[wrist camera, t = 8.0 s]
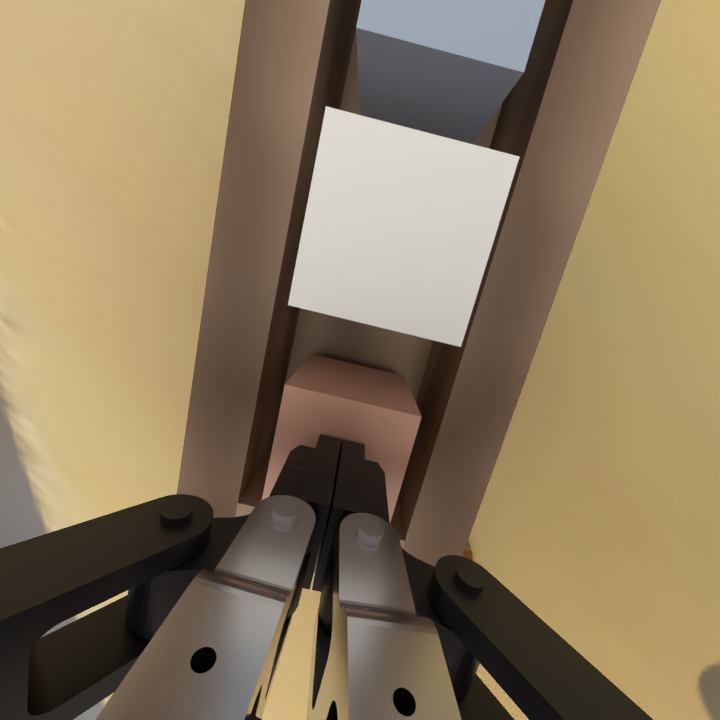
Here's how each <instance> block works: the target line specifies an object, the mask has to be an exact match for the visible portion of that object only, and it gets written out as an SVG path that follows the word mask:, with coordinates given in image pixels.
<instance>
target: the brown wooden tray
mask: <svg viewBox="0 0 720 720" xmlns="http://www.w3.org/2000/svg"><path fill="white" fill-rule="evenodd" d="M361 1H362V0H245V7H244V14H243V21H242V29H241V36H240V43H239V50H238V58H237V65H236V72H235V79H234V86H233V94H232V101H231V108H230V115H229V122H228V130H227V137H226V144H225V151H224V159H223V166H222V173H221V180H220V187H219V195H218V202H217V209H216V216H215V223H214V231H213V238H212V245H211V252H210V259H209V267H208V274H207V281H206V288H205V296H204V303H203V310H202V317H201V324H200V332H199V339H198V346H197V353H196V360H195V368H194V375H193V382H192V389H191V396H190V404H189V411H188V418H187V425H186V433H185V440H184V447H183V454H182V461H181V469H180V476H179V483H178V490H177V494H187V495H193V496H197V497H200V498H202V499H204V500H206V501H207V502H208V503H209V504H210V505H211V507H212V509H213V514H214V515H213V518H220V517H239V516H244V515H248V514H251V512H252V511H253V509H254V508H255V506H256V505H257V504H258V503H259V502H260V501H261V500H262V496H263V491H264V486H265V481H266V476H267V471H268V466H269V461H270V456H271V451H272V446H273V441H274V436H275V431H276V426H277V421H278V416H279V411H280V406H281V401H282V396H283V391H284V386H285V384H286V383H287V381H288V380H289V379H290V378H291V377H292V376H293V374H294V373H295V372H296V371H297V370H298V368H299V367H300V366H301V365H302V364H303V363H304V361H305V360H306V359H307V358H308V357H309V356H310V354H315V355H319V356H323V357H327V358H331V359H336V360H340V361H344V362H348V363H352V364H357V365H361V366H365V367H369V368H373V369H377V370H382V371H386V372H390V373H394V374H398V375H403V376H405V378H406V380H407V382H408V385H409V387H410V390H411V392H412V394H413V397H414V399H415V402H416V404H417V407H418V409H419V411H420V414H421V416H422V418H421V421H420V424H419V428H418V431H417V435H416V438H415V441H414V445H413V448H412V451H411V455H410V458H409V461H408V465H407V468H406V472H405V475H404V478H403V482H402V485H401V488H400V492H399V495H398V499H397V502H396V505H395V509H394V512H393V515H392V519H391V522H390V525H391V526H392V527H393V528H394V529H395V530H396V532H397V534H398V536H399V539H400V543H401V547H402V548H403V549H404V550H405V551H406V552H408V553H409V554H410V555H412V556H414V557H416V558H417V559H419V560H422V561H424V562H426V563H428V564H430V565H432V566H434V567H435V566H436V563H437V561H438V560H439V559H440V558H441V557H443V556H446V555H458V556H462V555H463V552H464V549H465V546H466V544H467V541H468V538H469V535H470V532H471V530H472V527H473V524H474V521H475V518H476V516H477V513H478V510H479V507H480V504H481V502H482V499H483V496H484V493H485V490H486V488H487V485H488V482H489V479H490V477H491V474H492V471H493V468H494V465H495V463H496V460H497V457H498V454H499V451H500V449H501V446H502V443H503V440H504V437H505V435H506V432H507V429H508V426H509V423H510V421H511V418H512V415H513V412H514V409H515V407H516V404H517V401H518V398H519V395H520V393H521V390H522V387H523V384H524V381H525V379H526V376H527V373H528V370H529V367H530V365H531V362H532V359H533V356H534V354H535V351H536V348H537V345H538V342H539V340H540V337H541V334H542V331H543V328H544V326H545V323H546V320H547V317H548V314H549V312H550V309H551V306H552V303H553V300H554V298H555V295H556V292H557V289H558V286H559V284H560V281H561V278H562V275H563V272H564V270H565V267H566V264H567V261H568V258H569V256H570V253H571V250H572V247H573V245H574V242H575V239H576V236H577V233H578V231H579V228H580V225H581V222H582V219H583V217H584V214H585V211H586V208H587V205H588V203H589V200H590V197H591V194H592V191H593V189H594V186H595V183H596V180H597V177H598V175H599V172H600V169H601V166H602V163H603V161H604V158H605V155H606V152H607V149H608V147H609V144H610V141H611V138H612V135H613V133H614V130H615V127H616V124H617V122H618V119H619V116H620V113H621V110H622V108H623V105H624V102H625V99H626V96H627V94H628V91H629V88H630V85H631V82H632V80H633V77H634V74H635V71H636V68H637V66H638V63H639V60H640V57H641V54H642V52H643V49H644V46H645V43H646V40H647V38H648V35H649V32H650V29H651V26H652V24H653V21H654V18H655V15H656V12H657V10H658V7H659V4H660V1H661V0H545V3H544V7H543V10H542V14H541V17H540V20H539V24H538V27H537V30H536V34H535V37H534V40H533V44H532V47H531V51H530V54H529V57H528V61H527V64H526V67H525V71H524V73H523V75H522V76H521V77H520V79H519V80H518V81H517V83H516V84H515V86H514V87H513V88H512V90H511V91H510V92H509V94H508V95H507V97H506V98H505V99H504V101H503V102H502V103H501V105H500V106H499V108H498V109H497V110H496V112H495V113H494V114H493V116H492V117H491V119H490V120H489V121H488V123H487V124H486V125H485V127H484V128H483V130H482V131H481V132H480V134H479V135H478V136H477V138H476V139H475V141H474V142H473V143H472V144H473V145H477V146H481V147H485V148H488V149H492V150H496V151H500V152H504V153H508V154H512V155H515V156H519V161H518V164H517V167H516V170H515V174H514V177H513V180H512V183H511V187H510V190H509V193H508V196H507V200H506V203H505V206H504V209H503V213H502V216H501V219H500V222H499V226H498V229H497V232H496V235H495V238H494V242H493V245H492V248H491V251H490V255H489V258H488V261H487V264H486V268H485V271H484V274H483V277H482V281H481V284H480V287H479V290H478V294H477V297H476V300H475V303H474V306H473V310H472V313H471V316H470V319H469V323H468V326H467V329H466V332H465V336H464V339H463V342H462V345H461V347H459V346H455V345H450V344H446V343H442V342H438V341H434V340H430V339H426V338H422V337H417V336H413V335H409V334H405V333H401V332H397V331H393V330H389V329H384V328H380V327H376V326H372V325H368V324H364V323H360V322H356V321H351V320H347V319H343V318H339V317H335V316H331V315H327V314H323V313H318V312H314V311H310V310H306V309H302V308H298V307H294V306H290V305H288V301H289V296H290V291H291V286H292V280H293V275H294V270H295V265H296V259H297V254H298V249H299V244H300V239H301V233H302V228H303V223H304V218H305V213H306V207H307V202H308V197H309V192H310V187H311V181H312V176H313V171H314V166H315V160H316V155H317V150H318V145H319V140H320V134H321V129H322V124H323V119H324V114H325V108H326V106H327V107H331V108H334V109H338V110H342V111H346V112H350V113H354V114H358V115H360V101H359V79H358V57H357V35H356V26H357V21H358V16H359V11H360V6H361ZM318 555H319V553H318ZM317 560H318V557H317ZM316 566H317V561H316V565H315V569H314V573H315V571H316Z"/></svg>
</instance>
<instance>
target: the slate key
mask: <svg viewBox="0 0 720 720" xmlns="http://www.w3.org/2000/svg"><path fill="white" fill-rule="evenodd" d="M544 3H545V0H362V1H361V6H360V11H359V16H358V21H357V26H356V35H357V57H358V79H359V101H360V115H361V116H365V117H369V118H373V119H377V120H381V121H385V122H388V123H392V124H396V125H400V126H404V127H408V128H411V129H415V130H419V131H423V132H427V133H431V134H435V135H438V136H442V137H446V138H450V139H454V140H458V141H462V142H465V143H469V144H472V143H473V142H474V141H475V139H476V138H477V136H478V135H479V134H480V132H481V131H482V130H483V128H484V127H485V125H486V124H487V123H488V121H489V120H490V119H491V117H492V116H493V114H494V113H495V112H496V110H497V109H498V108H499V106H500V105H501V103H502V102H503V101H504V99H505V98H506V97H507V95H508V94H509V92H510V91H511V90H512V88H513V87H514V86H515V84H516V83H517V81H518V80H519V79H520V77H521V76H522V75H523V73H524V71H525V67H526V64H527V61H528V57H529V54H530V51H531V47H532V44H533V40H534V37H535V34H536V30H537V27H538V24H539V20H540V17H541V14H542V10H543V7H544Z"/></svg>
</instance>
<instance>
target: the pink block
mask: <svg viewBox="0 0 720 720" xmlns="http://www.w3.org/2000/svg"><path fill="white" fill-rule="evenodd" d="M421 418H422V416H421V414H420V411H419V409H418V407H417V404H416V402H415V399H414V397H413V394H412V392H411V390H410V387H409V385H408V382H407V380H406V378H405V376H403V375H398V374H394V373H390V372H386V371H382V370H377V369H373V368H369V367H365V366H361V365H357V364H352V363H348V362H344V361H340V360H336V359H331V358H327V357H323V356H319V355H315V354H310V356H309V357H308V358H307V359H306V360H305V361H304V363H303V364H302V365H301V366H300V367H299V368H298V370H297V371H296V372H295V373H294V374H293V376H292V377H291V378H290V379H289V380H288V381H287V383H286V384H285V386H284V391H283V396H282V401H281V406H280V411H279V416H278V421H277V426H276V431H275V436H274V441H273V446H272V451H271V456H270V461H269V466H268V471H267V476H266V481H265V486H264V491H263V496H262V500H263V499H265V498H268V497H269V496H270V493H271V491H272V489H273V487H274V485H275V483H276V481H277V478H278V476H279V474H280V472H281V470H282V468H283V466H284V464H285V462H286V459H287V457H288V455H289V453H290V451H291V450H293V449H294V448H296V447H298V446H299V445H304V446H308V447H313V448H316V445H317V442H318V439H319V436H320V434H324V435H328V436H332V437H337V438H341V445H342V441H343V439H346V440H350V441H354V442H359V443H363V444H365V460H369V461H374V462H378V464H379V465H380V466H381V468H382V469H383V471H384V472H385V480H386V484H385V485H386V491H387V492H386V494H387V501H388V512H389V522H391V519H392V515H393V512H394V509H395V505H396V502H397V499H398V495H399V492H400V488H401V485H402V482H403V478H404V475H405V472H406V468H407V465H408V461H409V458H410V455H411V451H412V448H413V445H414V441H415V438H416V435H417V431H418V428H419V424H420V421H421ZM341 445H340V449H341ZM339 453H340V451H339Z"/></svg>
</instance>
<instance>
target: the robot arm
mask: <svg viewBox="0 0 720 720" xmlns="http://www.w3.org/2000/svg"><path fill="white" fill-rule="evenodd" d="M340 445H341V438H337V437H332V436H328V435H324V434H320V436H319V439H318V442H317V445H316V448H313V447H308V446H304V445H299V446H298V447H296V448H294V449H293V450H291V451H290V453H289V455H288V457H287V459H286V462H285V464H284V466H283V468H282V470H281V472H280V474H279V476H278V478H277V481H276V483H275V485H274V487H273V489H272V491H271V493H270V496H269V497H268V498H265V499H263V500H261V501H260V502H259V503H258V504H257V505H256V506H255V508H254V509H253V511H252V512H251V514H248V515H244V516H239V517H220V518H213V515H214V514H213V509H212V507H211V505H210V504H209V503H208V502H207V501H206V500H204V499H202V498H200V497H197V496H193V495H187V494H177V495H169V496H165V497H161V498H158V499H155V500H152V501H149V502H146V503H142V504H139V505H136V506H133V507H130V508H127V509H123V510H120V511H117V512H114V513H111V514H108V515H105V516H101V517H98V518H95V519H92V520H89V521H86V522H83V523H79V524H76V525H73V526H70V527H67V528H64V529H60V530H57V531H54V532H51V533H48V534H45V535H42V536H38V537H35V538H32V539H29V540H26V541H23V542H20V543H16V544H14V545H10V546H7V547H4V548H1V549H0V720H73V719H74V718H76V717H77V716H79V715H80V714H82V713H83V712H85V711H86V710H88V709H89V708H91V707H92V706H94V705H95V704H97V703H98V702H100V701H101V700H103V699H104V698H106V697H107V696H109V695H110V694H112V693H113V692H114V694H113V695H112V697H111V698H110V699H109V701H108V702H107V704H106V705H105V707H104V708H103V709H102V711H101V713H100V714H99V716H98V717H97V718H96V720H262V719H261V718H262V715H263V711H264V708H265V705H266V702H267V698H268V695H269V692H270V689H271V685H272V682H273V679H274V676H275V672H276V669H277V666H278V663H279V659H280V656H281V653H282V650H283V646H284V643H285V640H286V637H287V633H288V630H289V627H290V624H291V620H292V616H293V613H294V611H295V610H296V608H297V606H298V603H299V600H300V596H301V591H302V588H306V589H310V585H311V581H312V577H313V573H314V569H315V565H316V561H317V566H316V571H315V577H314V582H313V588H312V590H316V591H320V592H321V597H320V604H319V608H318V612H317V616H316V619H315V624H314V633H313V646H312V658H311V671H310V683H309V696H308V708H307V720H514V719H513V718H512V716H511V715H510V714H509V713H508V712H507V710H506V709H505V708H504V707H503V706H502V704H501V703H500V702H499V701H498V700H497V698H496V697H495V696H494V695H493V694H492V692H491V691H490V690H489V689H488V688H487V686H486V685H485V684H484V683H483V682H482V680H481V679H480V678H479V677H478V676H477V674H476V671H477V669H478V666H479V664H480V663H481V664H482V666H483V667H484V668H485V669H486V670H487V671H488V673H489V674H490V675H491V676H492V677H493V678H494V679H495V681H496V682H497V683H498V684H499V685H500V686H501V688H502V689H503V690H504V691H505V692H506V693H507V694H508V696H509V697H510V698H511V699H512V700H513V701H514V703H515V704H516V705H517V706H518V707H519V708H520V709H521V711H522V712H523V713H524V714H525V715H526V716H527V718H528V719H529V720H653V719H652V718H651V717H650V716H649V715H647V714H646V713H645V712H644V711H643V710H642V709H641V708H640V707H638V706H637V705H636V704H635V703H634V702H633V701H632V700H631V699H630V698H628V697H627V696H626V695H625V694H624V693H623V692H622V691H621V690H620V689H618V688H617V687H616V686H615V685H614V684H613V683H612V682H611V681H609V680H608V679H607V678H606V677H605V676H604V675H603V674H602V673H601V672H599V671H598V670H597V669H596V668H595V667H594V666H593V665H592V664H591V663H589V662H588V661H587V660H586V659H585V658H584V657H583V656H582V655H580V654H579V653H578V652H577V651H576V650H575V649H574V648H573V647H572V646H570V645H569V644H568V643H567V642H566V641H565V640H564V639H563V638H562V637H560V636H559V635H558V634H557V633H556V632H555V631H554V630H553V629H551V628H550V627H549V626H548V625H547V624H546V623H545V622H544V621H543V620H541V619H540V618H539V617H538V616H537V615H536V614H535V613H534V612H533V611H531V610H530V609H529V608H528V607H527V606H526V605H525V604H524V603H522V602H521V601H520V600H519V599H518V598H517V597H516V596H515V595H514V594H512V593H511V592H510V591H509V590H508V589H507V588H506V587H505V586H504V585H502V584H501V583H500V582H499V581H498V580H497V579H496V578H495V577H493V576H492V575H491V574H490V573H489V572H488V571H487V570H486V569H484V568H483V567H482V566H480V565H479V564H477V563H476V562H474V561H472V560H470V559H468V558H465V557H462V556H458V555H446V556H443V557H441V558H440V559H439V560H438V561H437V563H436V566H435V567H434V566H432V565H430V564H428V563H426V562H424V561H422V560H419V559H417V558H416V557H414V556H412V555H410V554H409V553H408V552H406V551H405V550H404V549H403V548H402V547H401V543H400V539H399V536H398V534H397V532H396V530H395V529H394V528H393V527H392V526H391V525H390V522H389V512H388V501H387V494H386V492H387V491H386V485H385V484H386V480H385V472H384V471H383V469H382V468H381V466H380V465H379V464H378V462H374V461H369V460H365V444H363V443H359V442H354V441H350V440H346V439H343V441H342V445H341V449H340ZM339 451H340V453H339ZM318 553H319V555H318ZM317 557H318V560H317ZM127 590H128V595H127V596H125V597H123V598H121V599H119V600H117V601H115V602H113V603H111V604H109V605H107V606H105V607H103V608H101V609H99V610H96V611H94V612H92V613H90V614H88V615H86V616H84V617H82V618H80V619H78V620H76V621H74V622H72V623H70V624H68V625H66V626H64V627H62V628H60V629H58V630H56V631H54V632H52V633H50V634H48V635H46V636H44V637H42V635H44V634H45V633H46V632H47V631H48V630H50V629H51V628H53V627H54V626H56V625H57V624H59V623H61V622H62V621H64V620H67V619H69V618H71V617H73V616H75V615H77V614H79V613H81V612H83V611H85V610H87V609H89V608H91V607H94V606H96V605H98V604H100V603H102V602H104V601H106V600H108V599H110V598H112V597H114V596H116V595H118V594H120V593H123V592H125V591H127ZM41 637H42V638H41Z"/></svg>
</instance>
